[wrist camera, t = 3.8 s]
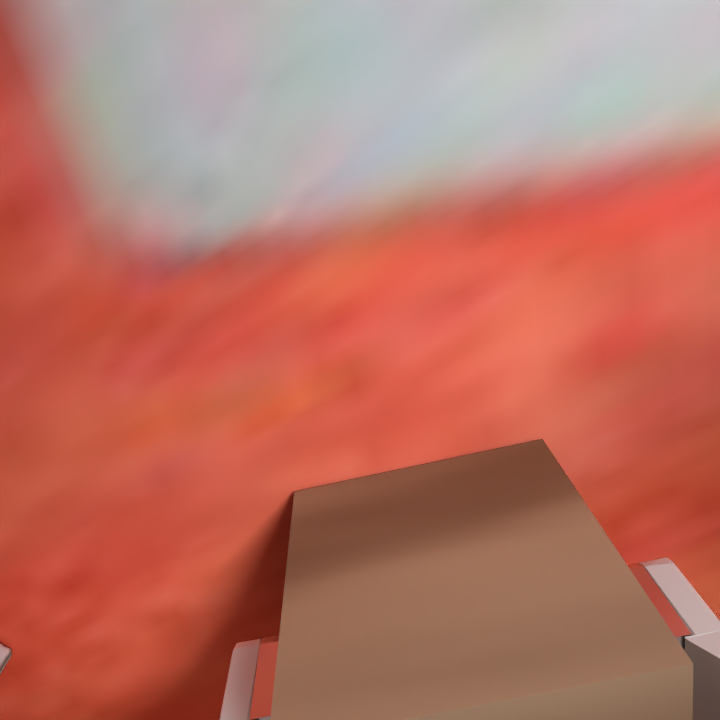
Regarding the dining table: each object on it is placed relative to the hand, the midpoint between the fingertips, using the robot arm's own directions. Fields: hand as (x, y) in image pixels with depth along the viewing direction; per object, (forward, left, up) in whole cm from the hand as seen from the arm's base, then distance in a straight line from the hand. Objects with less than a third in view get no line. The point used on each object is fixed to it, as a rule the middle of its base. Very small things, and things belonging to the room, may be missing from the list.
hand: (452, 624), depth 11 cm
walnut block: (0, 0, -2) cm, 2 cm away
